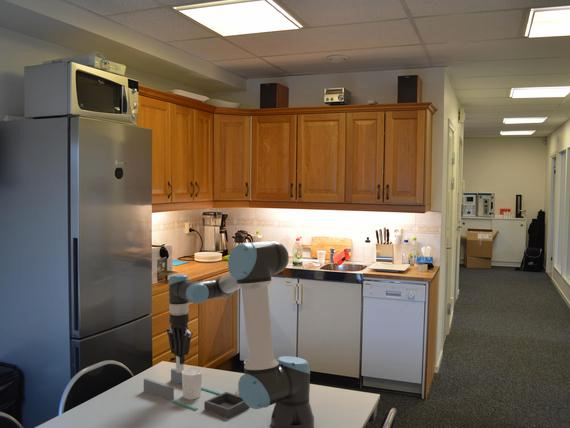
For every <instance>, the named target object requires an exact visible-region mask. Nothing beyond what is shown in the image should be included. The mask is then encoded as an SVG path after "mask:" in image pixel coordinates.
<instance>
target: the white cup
mask: <svg viewBox="0 0 570 428" xmlns="http://www.w3.org/2000/svg"><path fill="white" fill-rule="evenodd" d="M202 376H203V370H202V369H200V368H196V367H195V368H194V367H193V368H192V367H191V368H186V369H184V370H183V371H182V384H181V385H182V397H183V398H184V399H185V400H198V399H199V398H200V397H201V391H202V389H201V388H202V383H203V381H202V380H203V377H202Z"/></svg>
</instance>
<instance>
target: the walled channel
mask: <svg viewBox="0 0 570 428" xmlns="http://www.w3.org/2000/svg"><path fill="white" fill-rule="evenodd" d="M170 382H173V383H175V384H176V383H177V384H179V385H182V372H180V373H177V372H176V368H175V367H174V368H171V369H170ZM143 392H144V393H148V394H151V395H152V396H153V395H154V396H157V397H159V398H162V399H165V400H168V401H171V402H172V400H175V399H174V398H175V396H174V394H175V387H174V386H172V385H169V384H167V383H163V382H162V381H161V382H160V381H157V380H155V379H151V378H149V377H145V378H143Z"/></svg>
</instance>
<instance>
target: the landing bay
mask: <svg viewBox="0 0 570 428" xmlns="http://www.w3.org/2000/svg"><path fill="white" fill-rule="evenodd" d="M202 390H203V391H206V392H209V393H212V394H215V395H217V396H218V395H220V394H222V392H219V391H218V390H217V391H216V390H214V389H211V388H208V387H204V386H201V391H202ZM171 402H172V403H174V404H176V405H179V406H183V407H185V408H188V409H191V410H194V411H197V410H199V408H198V407H196V406H193V405H191V404H187V403H185V402H182V401H179V400H176V399H174V400H171Z"/></svg>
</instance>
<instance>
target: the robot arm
mask: <svg viewBox="0 0 570 428" xmlns="http://www.w3.org/2000/svg"><path fill="white" fill-rule="evenodd" d="M289 260H290V255H289V251H288V249H287V248H286V247H285V245H283V244H282V243H280V242H278V241H275V240H267V241H266V240H265V241H252V242H248V241H247V242H244V243H239V244H237V245H235V246H233V248H232V250H231V251H230V253H229V255H228V261H227V267H228V268H227V269H228V272H227V273H226V274H222V276H219V277H218V278H215V279H208V280H201V281H194V282H193V281H189V276H188V275H187V274H183V273H182V274H172V275H170V276H169V278H168V279H169V281H168V300H169V303H168V304H169V306H168V307H169V308H168V309H169V310H168V311H169V313H170V314H169V324H170V327H169V328H166V333H167V337H168V342H169V348H170V351H171V352H170V353H171V354H173V355H174V356H175V357H174V358H175V359H174V360H175V361H174V362H175V367H176V368H175V369H176V372H177V373H180V372H182V371H183V370H185V369H184V368H185V356H187V355H189V352H190V347H191V346H190V345H191V340H192V336H193V335H194V333H193V331H190V330H189V326H188V323H189V322H190V321H189V320H190V318H189V317H190V316H189V310H190V309H189V302H190V303H192V304H202V303H204V302H206V301H208V300H214V299H221V298H227V297H230V296H232V295H233V294H234V293H235V291H238V290H240V289H241V292H242V302H243V303H242V304H243V315H244V316H243V318H244V326H245V336H246V337H245V338H246V339H245V340H246V350H247V351H246V352H247V359H248V362H247V363H246V364H245V366H244V365H243V367H244V368H243V369H244V374H243V375H241V376H240V378H239V379H238V385H237V386H238V391H239V392H238V393H239V396H241V397H242V399H243V401H244V402H245V403H246V404H247V405H248V406H249V408H250V409H254V410H259V409H263V408H268V407H269V406H271V405H274V404H275V405H274V408H273V410H272V414H271V416H270V425H271V427H272V428H314V426H315V416H314V414H313V411H312V407H311V404H310V389H311V388H310V384H311V383H310V382H311V369H310V363H309V361H308V360H307V359H304V358H301V357H297V356H289V355H288V356H287V355H286V356H285V355H283V356H279V357H277V358H275V355H274V344H273V334H272V323H271V322H272V321H271V313H270V299H269V291H268V290H269V288H268V287H269V285H270V284H271V282H272V276H274V275H277V274H279V273H281V272H283V271H284V270H285V269H286V268H287V266H288V265H289V262H290V261H289Z"/></svg>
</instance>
